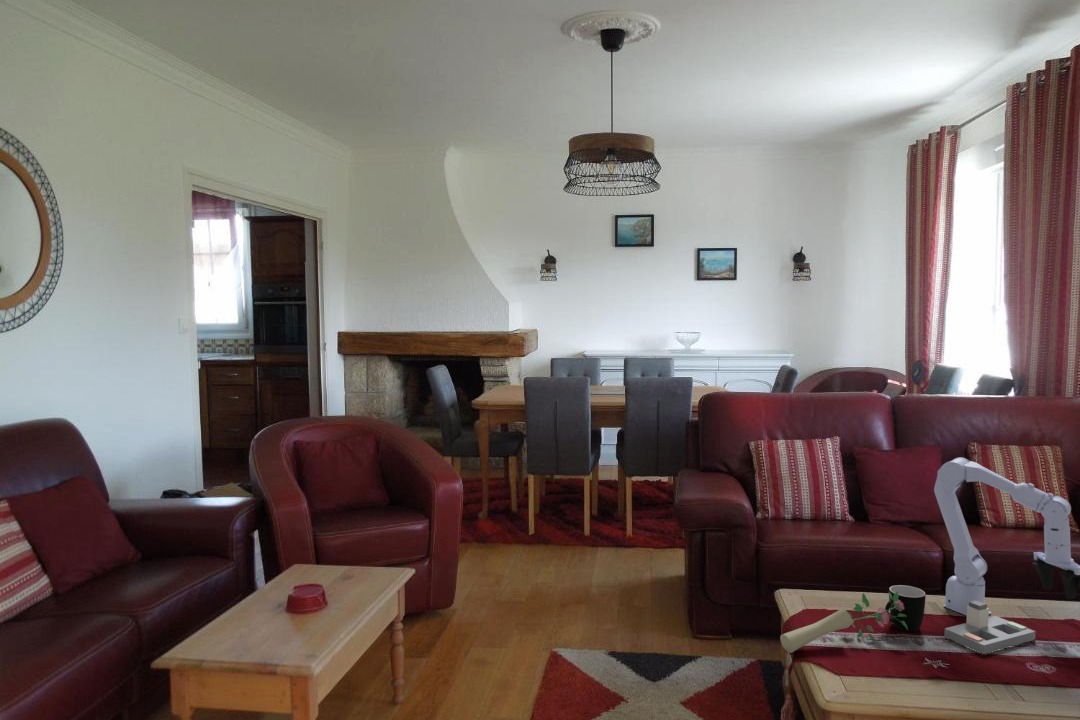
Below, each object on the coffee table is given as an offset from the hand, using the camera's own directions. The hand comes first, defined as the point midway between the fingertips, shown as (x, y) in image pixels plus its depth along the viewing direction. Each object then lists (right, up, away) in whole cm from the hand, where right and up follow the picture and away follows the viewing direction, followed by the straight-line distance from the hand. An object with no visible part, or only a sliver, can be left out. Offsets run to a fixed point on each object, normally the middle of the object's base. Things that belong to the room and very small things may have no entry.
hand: (1058, 593), depth 197 cm
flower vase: (-60, -12, -4) cm, 61 cm away
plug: (-22, -9, +1) cm, 23 cm away
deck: (-20, -11, -3) cm, 23 cm away
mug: (-40, -11, +5) cm, 42 cm away
